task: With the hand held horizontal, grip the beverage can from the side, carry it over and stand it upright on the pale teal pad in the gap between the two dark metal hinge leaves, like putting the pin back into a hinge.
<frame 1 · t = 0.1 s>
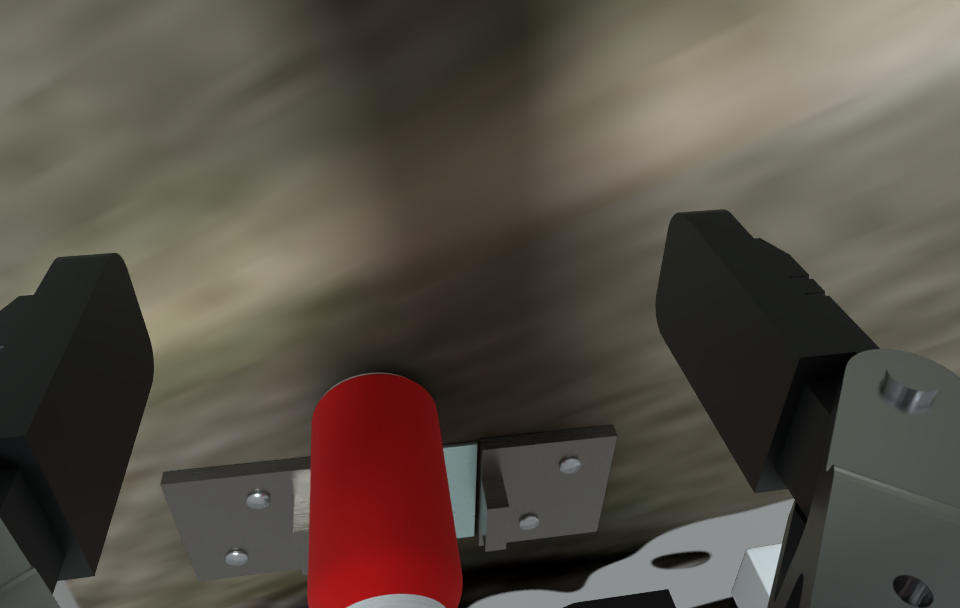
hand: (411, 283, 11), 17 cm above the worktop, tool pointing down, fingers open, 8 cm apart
milk: (774, 562, 54), on the worktop
beverage can: (374, 400, 37), on the worktop
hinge: (401, 498, 42), on the worktop
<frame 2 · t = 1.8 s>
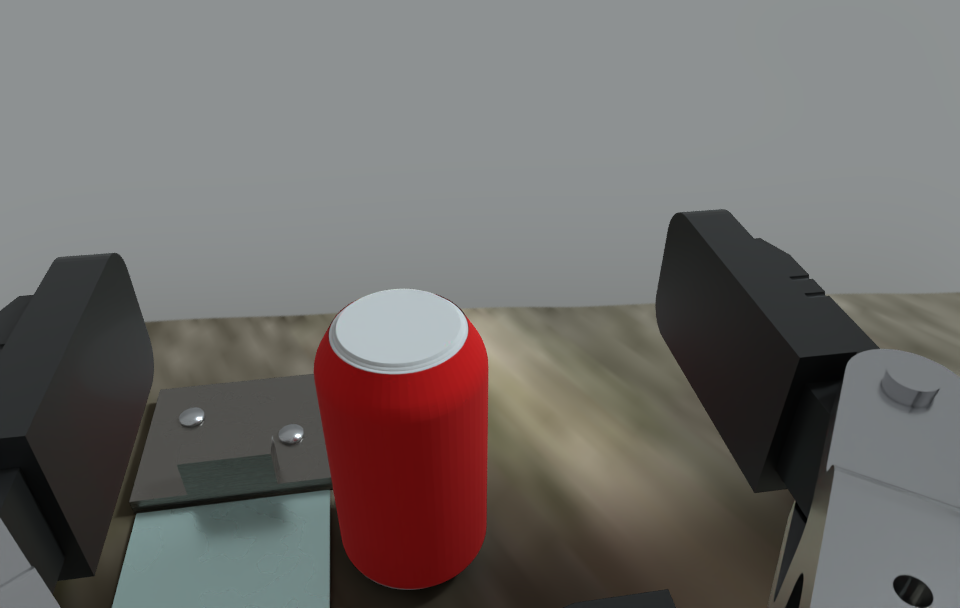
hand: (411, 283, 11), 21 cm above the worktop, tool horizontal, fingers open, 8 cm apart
beverage can: (415, 543, 32), on the worktop
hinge: (224, 586, 30), on the worktop
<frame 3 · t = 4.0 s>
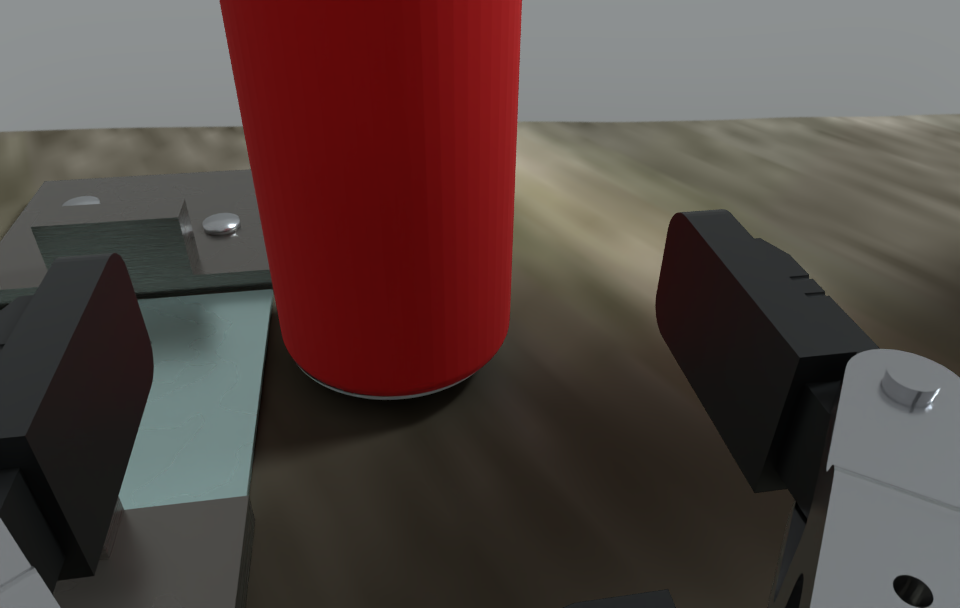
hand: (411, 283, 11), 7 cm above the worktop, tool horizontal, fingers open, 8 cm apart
beverage can: (399, 354, 21), on the worktop
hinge: (91, 401, 19), on the worktop
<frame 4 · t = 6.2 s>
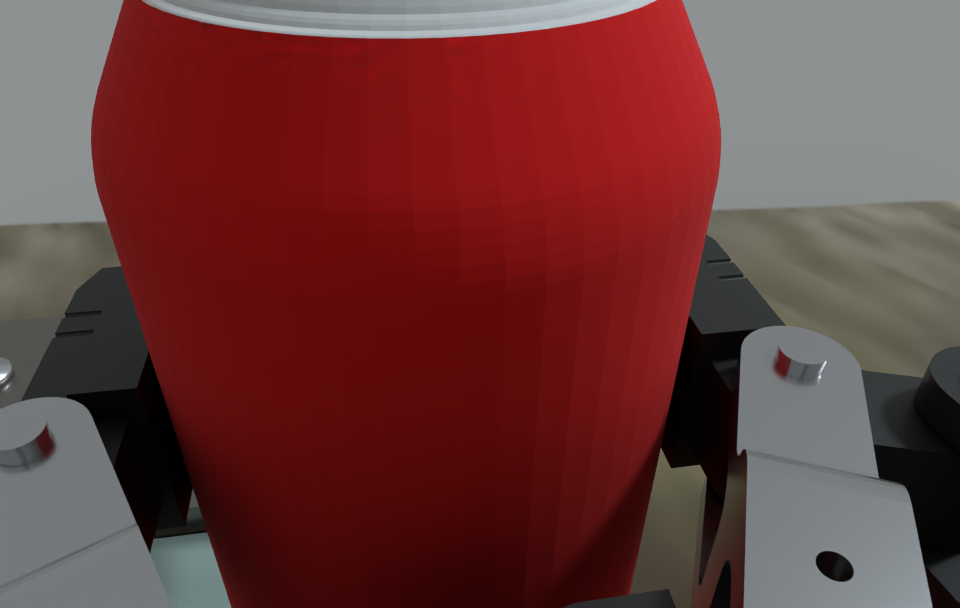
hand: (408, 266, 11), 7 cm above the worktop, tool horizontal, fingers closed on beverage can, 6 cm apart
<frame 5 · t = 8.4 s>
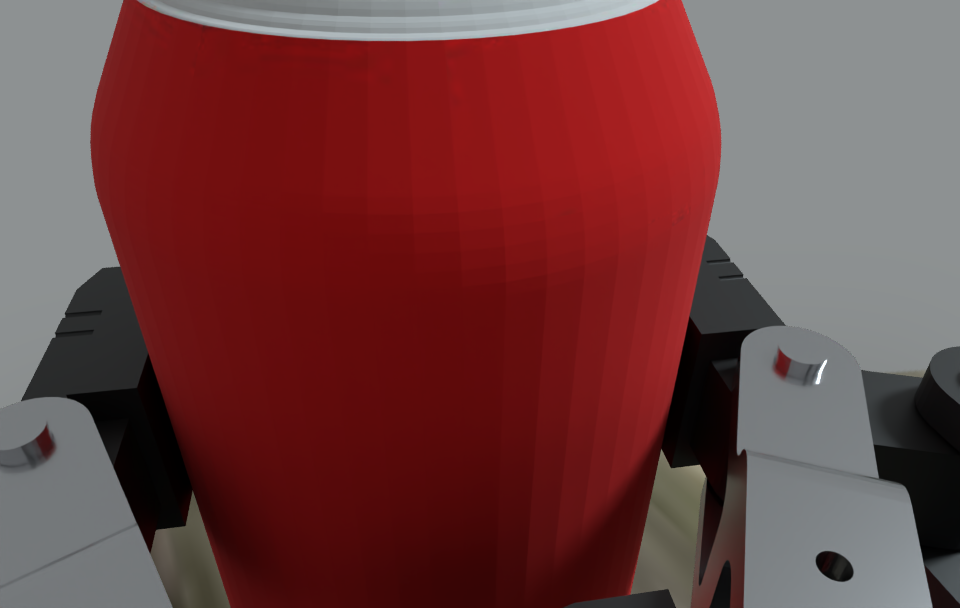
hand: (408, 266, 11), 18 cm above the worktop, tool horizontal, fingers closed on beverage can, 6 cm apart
when the fingers open (8 cm above the worktop, at t = 10.6 s): beverage can stays where it is, resting on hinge.
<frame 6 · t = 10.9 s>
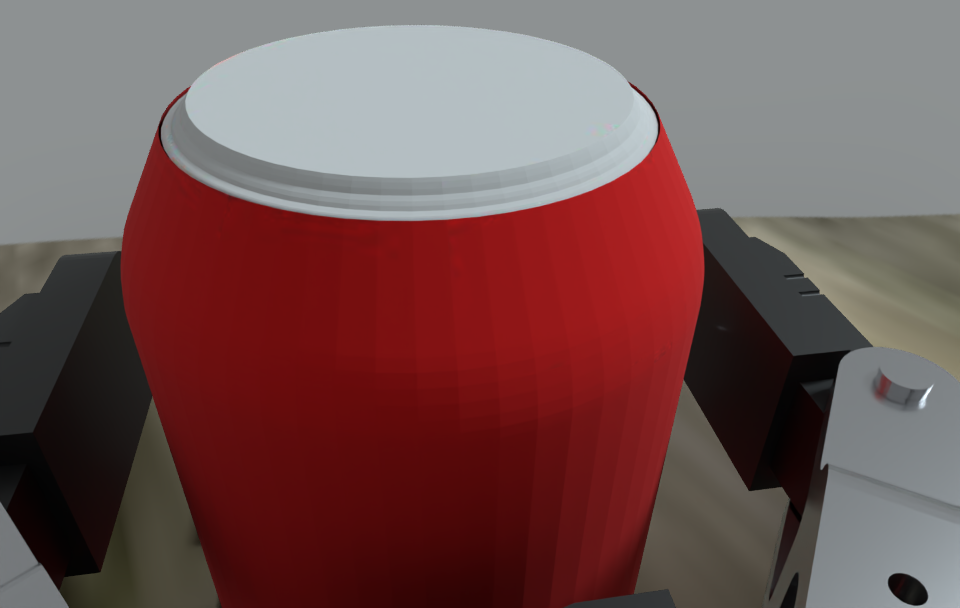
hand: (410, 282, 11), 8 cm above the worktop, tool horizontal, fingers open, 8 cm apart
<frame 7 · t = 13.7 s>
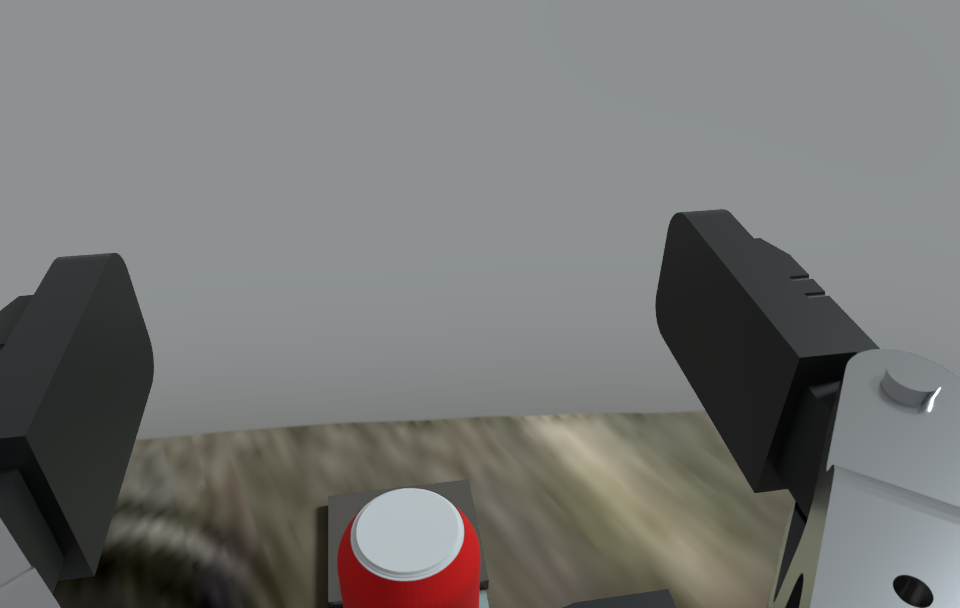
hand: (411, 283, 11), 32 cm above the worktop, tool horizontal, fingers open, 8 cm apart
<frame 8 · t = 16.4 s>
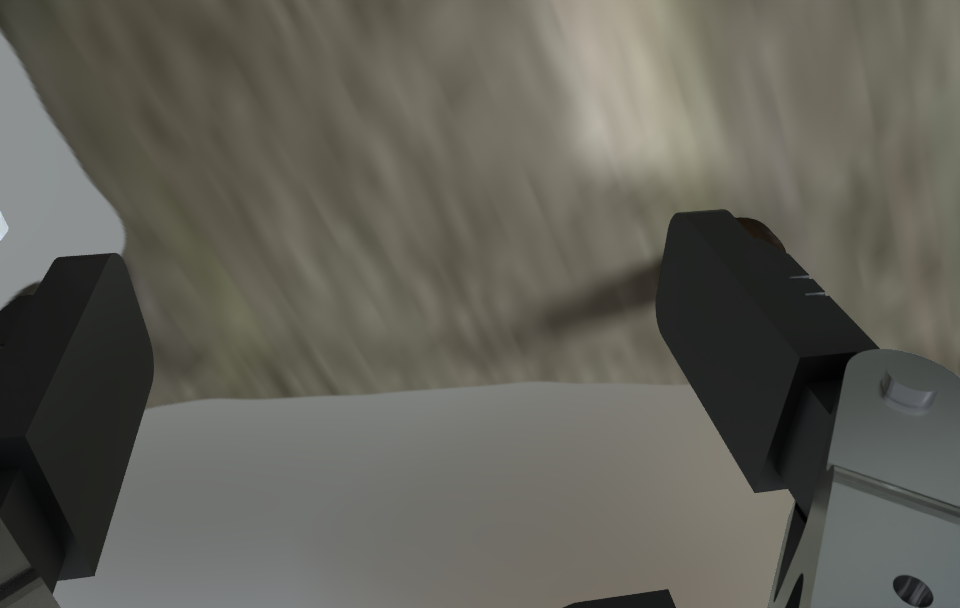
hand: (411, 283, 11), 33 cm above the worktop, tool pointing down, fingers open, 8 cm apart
brown wooden figurine: (727, 254, 54), on the worktop
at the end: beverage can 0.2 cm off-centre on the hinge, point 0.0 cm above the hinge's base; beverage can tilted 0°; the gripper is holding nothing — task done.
